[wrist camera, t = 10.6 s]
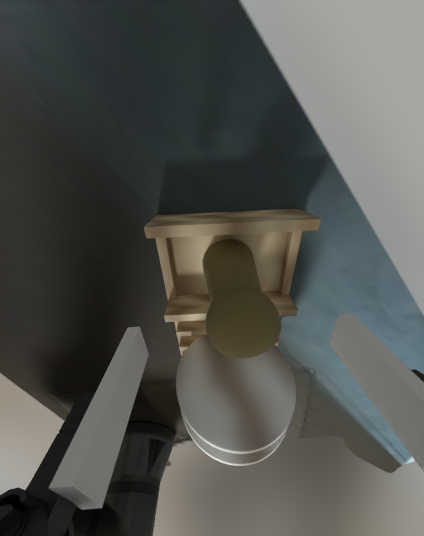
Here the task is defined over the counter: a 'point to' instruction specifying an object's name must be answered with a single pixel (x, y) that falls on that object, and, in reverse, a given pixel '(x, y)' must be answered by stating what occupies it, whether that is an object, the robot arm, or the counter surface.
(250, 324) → the cork
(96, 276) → the counter surface
